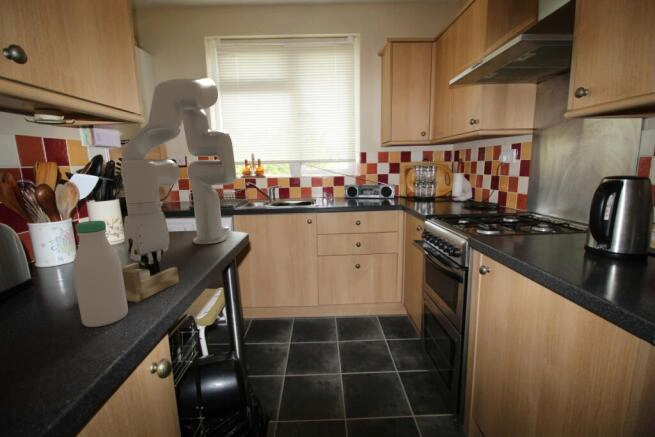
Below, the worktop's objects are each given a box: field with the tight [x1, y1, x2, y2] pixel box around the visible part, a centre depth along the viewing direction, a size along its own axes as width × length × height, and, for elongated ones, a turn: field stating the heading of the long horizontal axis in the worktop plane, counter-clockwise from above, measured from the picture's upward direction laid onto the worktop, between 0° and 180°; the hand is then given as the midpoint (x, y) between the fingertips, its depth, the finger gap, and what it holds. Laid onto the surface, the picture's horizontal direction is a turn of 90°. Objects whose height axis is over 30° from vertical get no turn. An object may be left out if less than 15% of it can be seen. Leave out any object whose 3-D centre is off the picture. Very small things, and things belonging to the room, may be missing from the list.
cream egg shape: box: [135, 268, 150, 280], centre depth 78 cm, size 7×7×4 cm
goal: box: [121, 262, 180, 303], centre depth 78 cm, size 12×15×7 cm
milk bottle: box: [72, 220, 129, 328], centre depth 61 cm, size 8×8×20 cm
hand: (153, 276), depth 83 cm, fingers closed
